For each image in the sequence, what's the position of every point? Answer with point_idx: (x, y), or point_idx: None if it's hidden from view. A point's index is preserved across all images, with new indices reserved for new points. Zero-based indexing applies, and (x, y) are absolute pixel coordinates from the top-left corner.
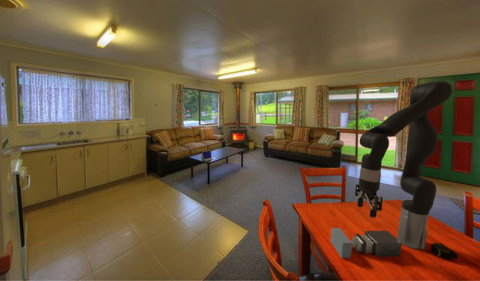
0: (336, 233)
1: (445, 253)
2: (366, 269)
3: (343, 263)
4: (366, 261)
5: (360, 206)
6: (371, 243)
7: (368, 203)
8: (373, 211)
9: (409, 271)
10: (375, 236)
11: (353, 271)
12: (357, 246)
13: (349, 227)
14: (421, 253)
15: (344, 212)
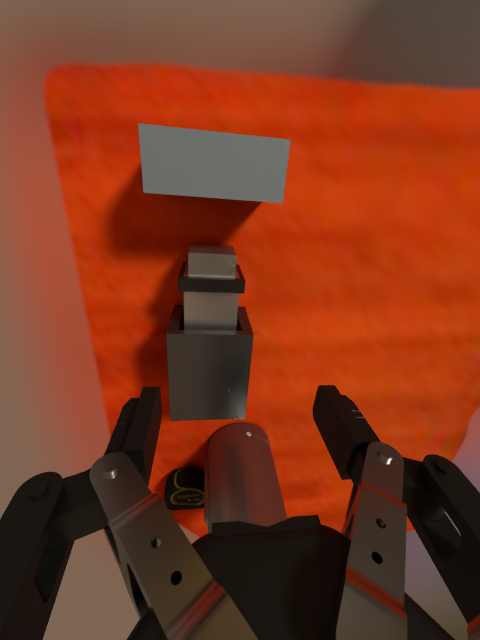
0: (232, 139)
1: (167, 491)
2: (101, 222)
3: (123, 129)
4: (146, 251)
5: (317, 402)
6: (184, 313)
7: (149, 501)
8: (106, 449)
9: (115, 364)
10: (210, 353)
11: (80, 151)
12: (191, 248)
13: (341, 309)
14: (192, 441)
15: (433, 348)
